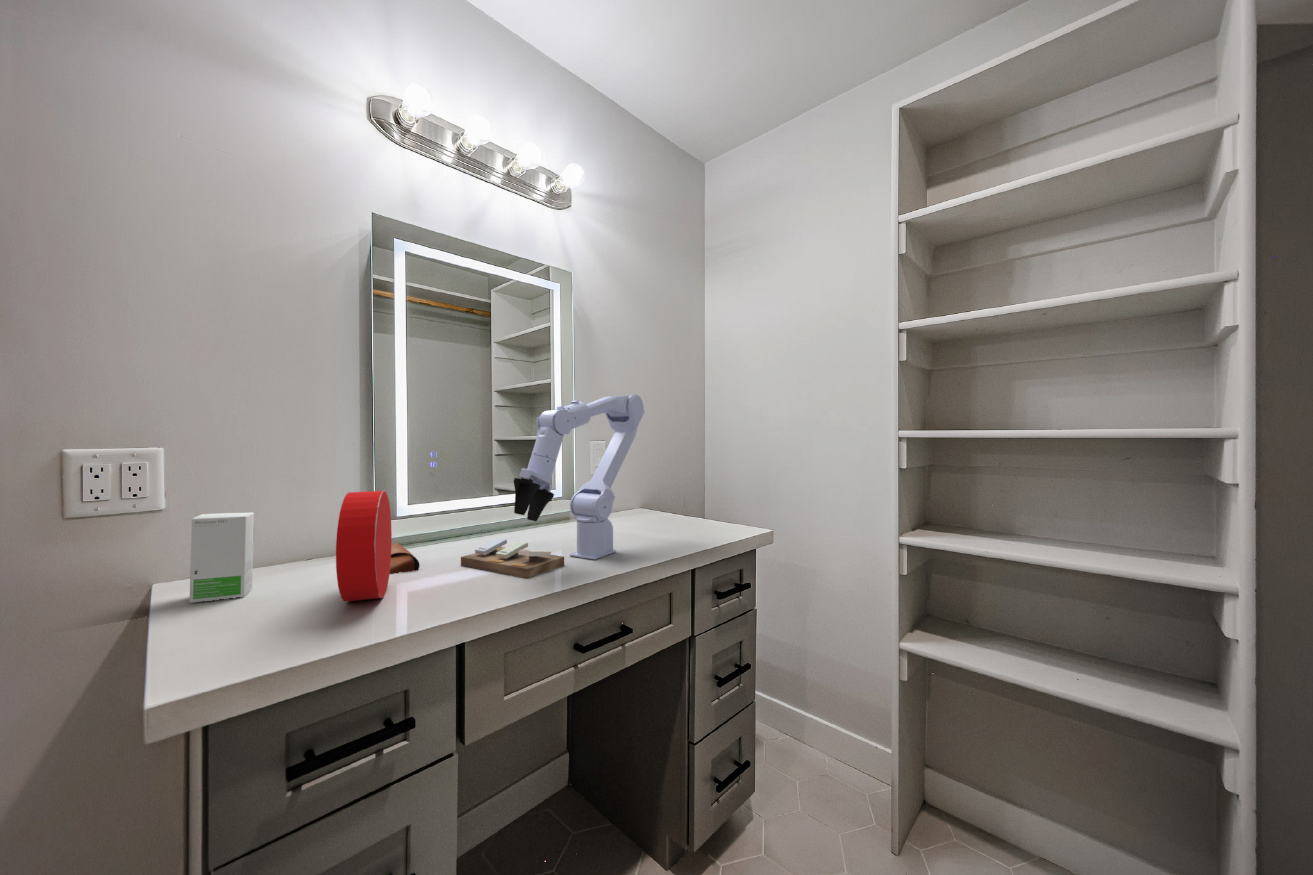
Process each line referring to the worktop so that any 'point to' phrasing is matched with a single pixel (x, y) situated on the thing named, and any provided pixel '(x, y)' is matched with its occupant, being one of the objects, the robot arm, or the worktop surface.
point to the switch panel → (513, 563)
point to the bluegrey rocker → (490, 546)
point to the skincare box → (221, 556)
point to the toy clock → (363, 546)
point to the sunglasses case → (402, 560)
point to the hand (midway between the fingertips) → (525, 517)
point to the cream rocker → (534, 553)
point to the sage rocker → (511, 549)
